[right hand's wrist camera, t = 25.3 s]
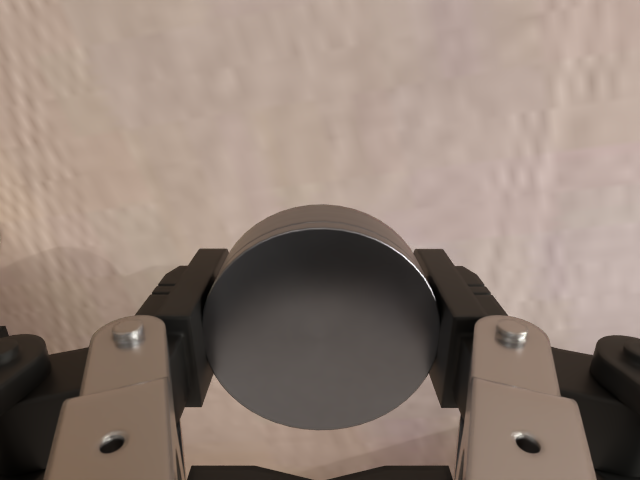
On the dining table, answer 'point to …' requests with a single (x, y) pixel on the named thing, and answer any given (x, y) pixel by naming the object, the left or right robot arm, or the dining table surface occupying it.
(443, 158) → the dining table surface
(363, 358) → the lid
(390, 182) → the dining table surface
